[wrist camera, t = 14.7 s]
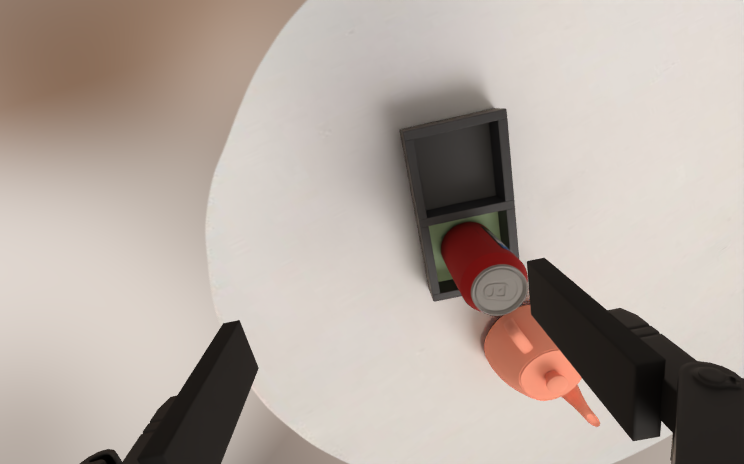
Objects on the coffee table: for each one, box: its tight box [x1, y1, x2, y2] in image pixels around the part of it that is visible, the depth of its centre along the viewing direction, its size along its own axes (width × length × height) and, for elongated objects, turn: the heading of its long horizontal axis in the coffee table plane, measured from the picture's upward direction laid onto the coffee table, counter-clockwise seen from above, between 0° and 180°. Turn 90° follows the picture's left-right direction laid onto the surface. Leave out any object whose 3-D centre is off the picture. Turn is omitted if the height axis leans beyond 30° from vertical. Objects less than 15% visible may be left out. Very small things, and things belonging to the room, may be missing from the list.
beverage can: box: [441, 222, 528, 316], centre depth 40 cm, size 7×7×12 cm
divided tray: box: [400, 108, 519, 301], centre depth 43 cm, size 21×11×4 cm, turn 12°
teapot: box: [484, 305, 600, 427], centre depth 47 cm, size 12×18×10 cm
